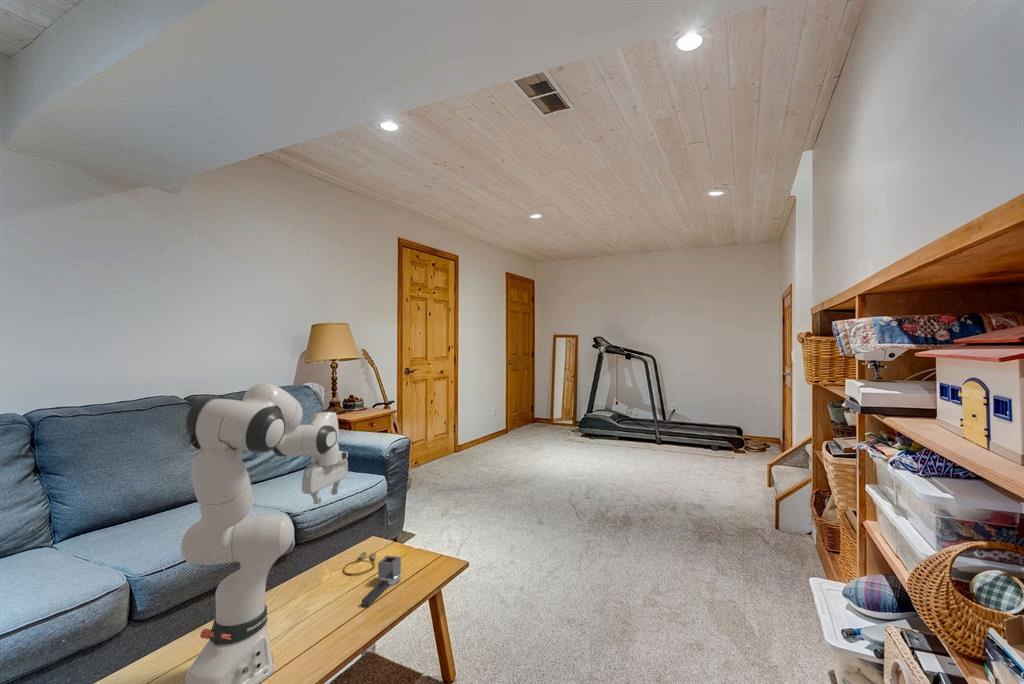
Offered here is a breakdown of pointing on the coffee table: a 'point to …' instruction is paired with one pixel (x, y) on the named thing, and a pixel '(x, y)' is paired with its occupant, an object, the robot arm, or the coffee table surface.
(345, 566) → the extension cord
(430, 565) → the coffee table surface
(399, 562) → the socket
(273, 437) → the robot arm
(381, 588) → the ratchet
